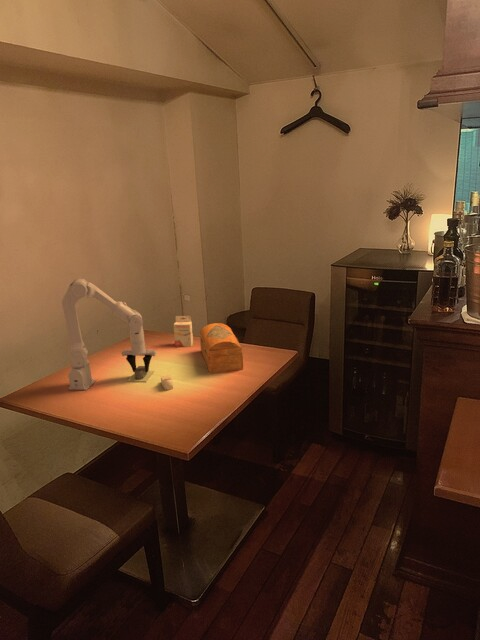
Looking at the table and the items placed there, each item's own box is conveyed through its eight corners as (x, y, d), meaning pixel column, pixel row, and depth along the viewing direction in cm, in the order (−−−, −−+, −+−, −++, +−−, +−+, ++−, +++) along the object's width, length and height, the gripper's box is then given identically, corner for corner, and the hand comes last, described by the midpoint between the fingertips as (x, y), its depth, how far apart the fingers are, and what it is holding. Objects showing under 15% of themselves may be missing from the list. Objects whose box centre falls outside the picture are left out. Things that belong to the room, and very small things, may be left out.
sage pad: (146, 382, 194) (146, 381, 194) (127, 381, 196) (127, 380, 196) (154, 371, 205) (154, 370, 205) (137, 371, 206) (137, 370, 206)
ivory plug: (173, 389, 186) (173, 380, 185) (165, 390, 185) (164, 382, 184) (168, 380, 195) (167, 373, 194) (160, 382, 193) (159, 374, 192)
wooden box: (245, 370, 203) (244, 339, 199) (207, 374, 200) (205, 343, 196) (234, 347, 231) (232, 320, 227) (200, 351, 228) (198, 323, 225)
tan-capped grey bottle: (142, 379, 196) (141, 372, 195) (134, 379, 196) (133, 372, 195) (149, 371, 205) (148, 363, 204) (141, 371, 205) (140, 363, 204)
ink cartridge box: (174, 346, 236) (172, 318, 232) (177, 343, 241) (174, 315, 237) (191, 346, 235) (189, 318, 231) (193, 343, 240) (191, 315, 236)
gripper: (157, 338, 199) (160, 368, 202) (124, 338, 201) (128, 367, 204) (151, 343, 192) (155, 374, 196) (118, 343, 194) (122, 374, 198)
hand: (140, 371), depth 200 cm, fingers open, 5 cm apart
